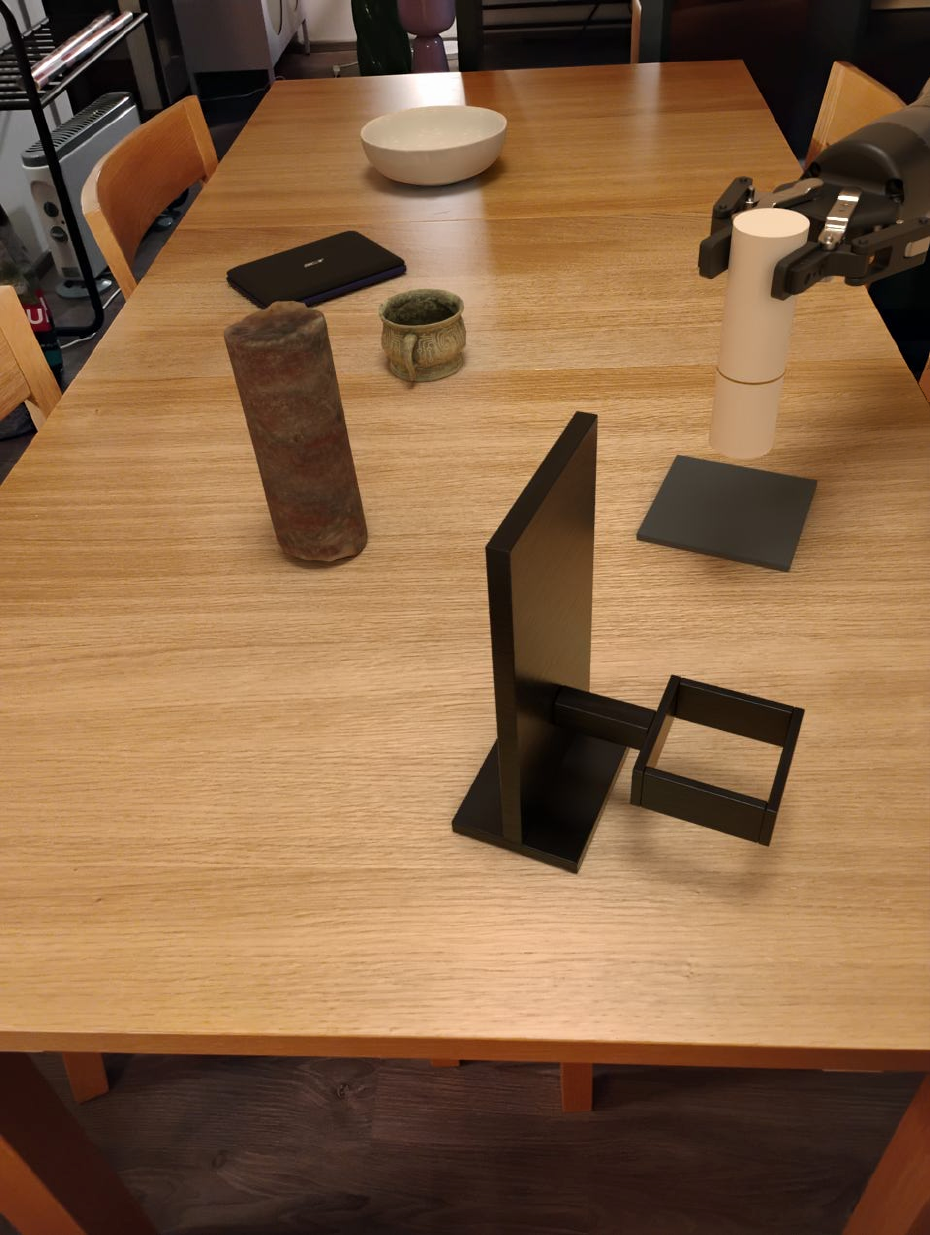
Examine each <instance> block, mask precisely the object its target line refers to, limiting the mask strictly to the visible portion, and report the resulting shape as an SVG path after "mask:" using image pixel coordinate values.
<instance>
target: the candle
mask: <svg viewBox="0 0 930 1235" xmlns="http://www.w3.org/2000/svg"><path fill="white" fill-rule="evenodd" d="M223 340H224V343H225V347H226V351H227V354H228V357H229V362H230V365H231V368H232V372H233V376H234V381H235V384H236V388H237V390H238V395H239V399H240V404H241V406H242V410H243V414H244V417H245V421H246V426H247V430H248V434H249V437H250V441H251V444H252V445H251V446H252V448H253V453H254V455H255V456H254V457H255V460H256V464H257V468H258V471H259V476H260V479H261V484H262V487H263V492H264V497H265V500H266V502H267V503H266V504H267V507H268V508H267V509H268V512H269V515H270V518H271V523H272V526H273V530H274V533H275V537H276V540H277V543H278V545H279V547H280V548H281V550H282V551H283V552H284V553H286V554H287V555H291V556H292V557H297V558H300V559H302V560H305V561H322V562H323V561H324V562H333V561H336V560H337V559H343V558H346V557H350V556H351V557H352V556H356V555H358V554H359V553H361V552H362V551H363V549H364V548H365V546H366V545H367V541H368V527H367V521H366V516H365V511H364V506H363V500H362V496H361V491H360V486H359V482H358V476H357V472H356V467H355V461H354V457H353V452H352V448H351V444H350V443H351V442H350V438H349V432H348V428H347V423H346V416H345V411H344V407H343V403H342V397H341V392H340V386H339V380H338V377H337V376H338V375H337V372H336V371H337V370H336V366H335V361H334V354H333V350H332V344H331V341H330V335H329V328H328V324H327V320H326V317H325V314H324V312H322V311H321V310H319V309H316V308H309V307H308V306H306V305H305V303H299V302H295V301H283V302H280V301H277V302H274V303H272V304H271V305H270V306H269V307H268V308H266V309H264V310H263V309H260V310H257V311H255V312H253V313H251V314H249V315H246V316H245V317H244V318H243V319H241V320H240V321H236V322H235V323H233V324H231V325H228V326H227V327H226V328H225V329H224V331H223Z"/></svg>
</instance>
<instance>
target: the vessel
mask: <svg viewBox="0 0 930 1235" xmlns="http://www.w3.org/2000/svg"><path fill="white" fill-rule="evenodd" d="M464 309H465V303H464V300H463V298H461V297H460V295H458V294H455V293H453V292H451V291H448V290H445V289H438V288H418V289H411V290H407V291H403V292H400V293H397V294H394V295H392V296H390V297H388V298H386V299H385V300H384V301H383V302H381V304H380V305H379V307H378V316H379V317H380V320H381V322H382V332H381V339H380V343H381V344H380V345H381V348H382V350H383V352H384V353H385V355H386V356H387V358H389V359H390V363H389V369H390V370H391V372H392V374H393V375H395V376H397V377H398V378H400V379H401V380H404V381H409V382H418V383H419V382H421V383H422V382H431V381H437V380H441V379H444V378H446V377H449V376H451V375H452V374H454V373H456V372H458V370H459V369H460V368H461V367H462V365H463V357H462V355H461V351H463V350H464V348H465V347H466V345H467V330H466V326H465V321H464V319H463V316H462V314H463V312H464Z"/></svg>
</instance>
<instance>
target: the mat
mask: <svg viewBox="0 0 930 1235" xmlns="http://www.w3.org/2000/svg"><path fill="white" fill-rule="evenodd" d="M817 485H818V479H813V478H808V477H802V476H797V475H791V474H786V473H780V472H777V471H769V470H764V469H758V468H754V467H753V468H752V467H749V466H741V465H736V464H731V463H725V462H722V461H721V462H720V461H715V460H709V459H703V458H699V457H694V456H687V455H683V454H676V456H675V458H674V460H673V462H672V463H671V466H670V468H669V470H668V472H667V474H666V475H665V477H664V479H663V480H662V483H661V485H660V487H659V489H658V490H657V493H656V494H655V497H654V499H653V501H652V502H651V504H650V507H649V509H648V510H647V513H646V514H645V517H644V518H643V520H642V521H641V524H640V526H639V528H638V530H637V532H636V534H635V536H636V538H635V539H636V540H638V541H642V542H647V543H651V544H657V545H661V546H667V547H671V548H674V549H679V550H683V551H684V550H685V551H688V552H692V553H693V552H694V553H698V554H703V555H707V556H712V557H716V558H721V559H726V560H731V561H736V562H740V563H743V564H744V563H745V564H749V565H754V566H758V567H763V568H767V569H773V570H777V571H781V572H786V573H789V572H790V569H791V566H792V563H793V560H794V556H795V554H796V550H797V547H798V545H799V541H800V538H801V535H802V532H803V528H804V526H805V522H806V520H807V517H808V513H809V510H810V508H811V504H812V501H813V498H814V495H815V492H816V489H817Z"/></svg>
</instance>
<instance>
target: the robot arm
mask: <svg viewBox="0 0 930 1235" xmlns="http://www.w3.org/2000/svg"><path fill="white" fill-rule="evenodd" d="M753 181H754V179H753V178H752V177H749V176H746V175H744V176H738V177H735V178H733V180H732V181H731V183H730V184H729V185H728V187H727V188H726V189H725V191H724V192H722V194H721V195H720V197H719V198H718V199H717V201H716V202H715V203H714V204H713V206H712V212H711V223H710V233H709V236H707V237H706V238H704V239H702V240H701V241H700V243H699V248H698V257H697V258H698V259H697V268H699V269H698V275H699V276H700V277H701V278H703V279H708V280H713V279H715V278H716V277H718V276H720V275H721V274H722V273H724V272H726V271H728V265H729V257H730V248H731V239H732V230H733V222H734V219H735V217H737V216H738V215H740V214H741V213H744V212H747V211H750V210H755V209H763V208H777V209H785V210H790V211H794V212H797V213H800V214H802V215H803V216H805V217H806V218H807V219H808V220H809V222H810V225H809V231H808V237H807V243H805V244H804V245H803V246H802V247H800V248H798V249H796V250H795V251H793V252H792V253H790V254H789V255H787V256H786V257H784V258H782V259H781V260H779V261H778V263H777V264H776V266H775V269H774V273H773V280H772V287H771V297H772V298H775V299H778V300H781V301H784V300H786V299H787V298H789V297H790V296H792V295H797V294H798V295H800V294H803V293H804V292H806V291H807V290H809V289H810V288H811V287H813V286H815V285H816V284H817V283H819V284H820V283H821V284H822V283H823V284H824V283H830V282H832V280H833V279H834V277H842V278H844V280H843V283H844V285H847V286H848V287H856V288H857V287H862V286H865V285H866V286H867V285H868V284H871V283H873V282H877V281H879V280H882V279H885V278H887V277H891V276H893V275H895V274H898V273H901V272H904V271H906V270H909V269H912V268H915V267H917V266H920V265H921V266H922V265H923V264H924V263H925V261H926V257H927V253H928V250H929V247H930V77H929V78H928V79H927V81H926V82H925V84H924V85H923V87H922V89H921V90H920V92H919V94H918V96H917V97H916V99H915V101H913V102H911V103H909V104H908V105H906V106H904V107H902V108H901V109H900V110H897V111H894V112H889V113H887V114H885V115H882V116H880V117H878V118H876V119H874V120H872V121H871V122H869V123H867V124H866V125H864V126H862V127H860V128H859V129H856V130H855V131H853V132H851V133H850V134H847V135H845V137H843V138H841V139H839V140H838V141H836V142H834V143H832V144H830V145H828V146H827V147H826V148H824V149H822V151H820V152H819V153H818V154H817V155H816V156H815V157H814V158H813V159H812V161H811V162H810V163H809V165H808V166H807V167H806V169H805V170H804V171H803V172H802V174H801V175H800V177H799V178H798V179H797V180H794V181H791V182H786V183H782V184H779V185H778V186H776V187H775V189H774V190H773V191H766V190H756V186H755V185H753V183H754V182H753ZM872 257H873V259H872V260H871V258H872ZM870 260H871V262H870Z"/></svg>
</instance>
